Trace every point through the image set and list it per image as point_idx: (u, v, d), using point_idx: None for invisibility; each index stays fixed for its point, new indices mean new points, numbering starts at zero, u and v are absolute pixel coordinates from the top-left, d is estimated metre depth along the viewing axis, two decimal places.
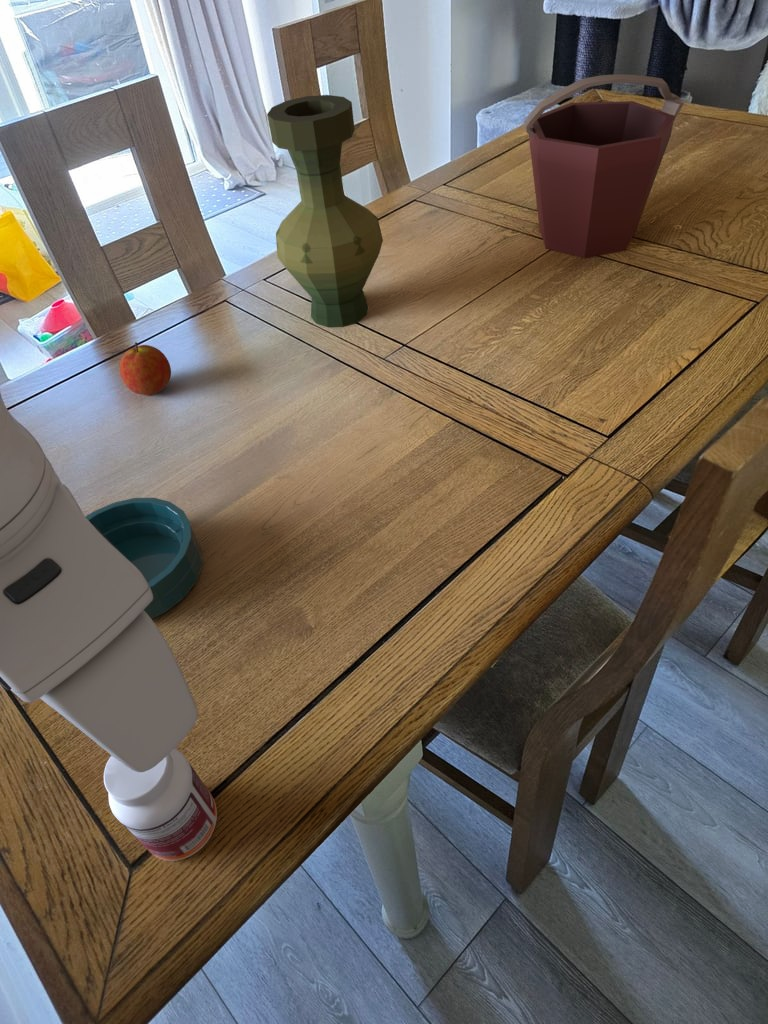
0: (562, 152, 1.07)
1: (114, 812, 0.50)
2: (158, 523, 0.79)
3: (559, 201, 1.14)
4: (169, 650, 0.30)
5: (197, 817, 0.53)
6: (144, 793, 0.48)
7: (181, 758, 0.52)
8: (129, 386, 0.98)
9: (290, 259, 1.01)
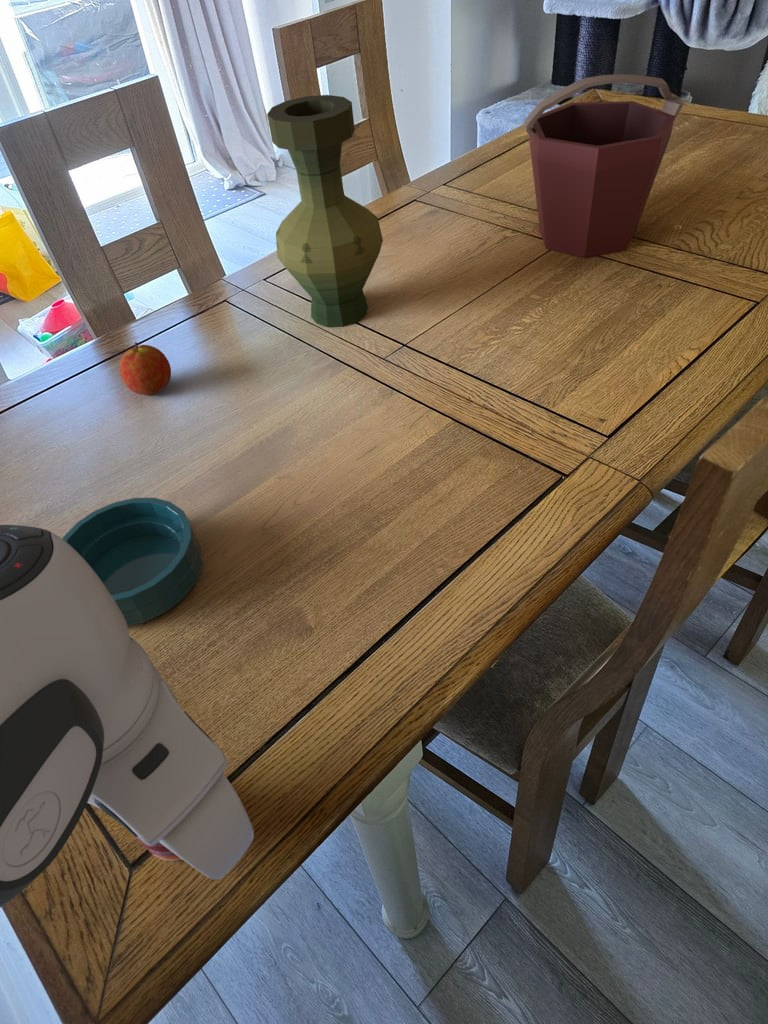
0: (562, 152, 1.07)
1: None
2: (158, 523, 0.79)
3: (559, 201, 1.14)
4: (237, 797, 0.44)
5: None
6: None
7: None
8: (129, 386, 0.98)
9: (290, 259, 1.01)
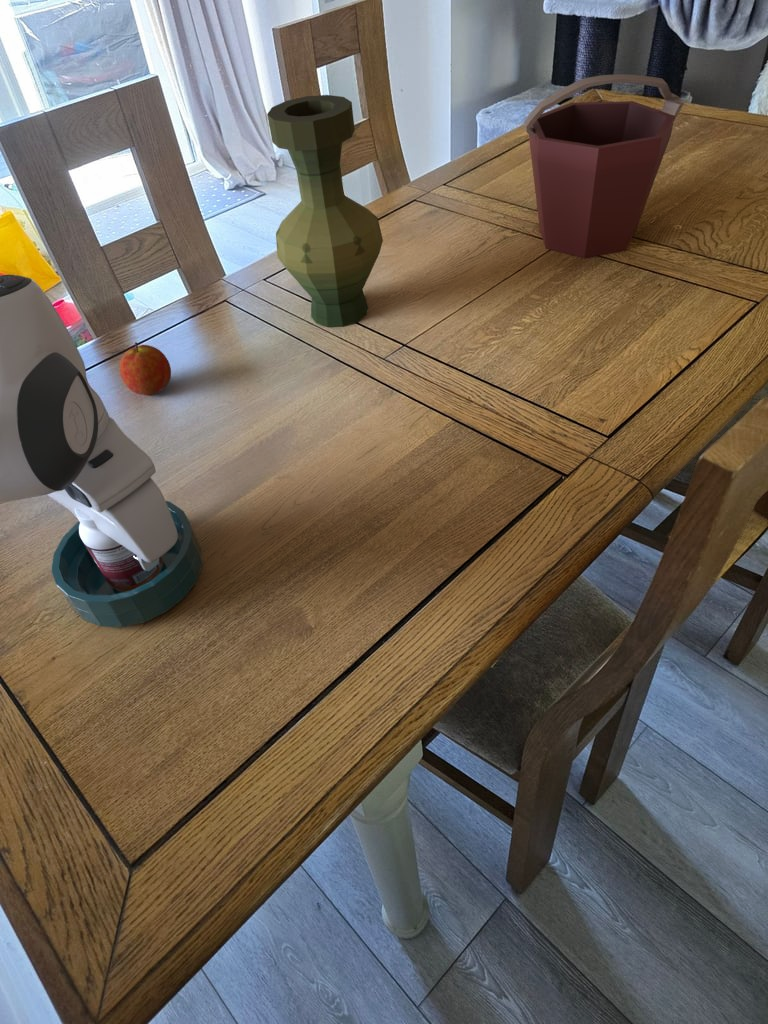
0: (562, 152, 1.07)
1: (82, 537, 0.69)
2: None
3: (559, 201, 1.14)
4: (163, 497, 0.63)
5: None
6: None
7: None
8: (129, 386, 0.98)
9: (290, 259, 1.01)
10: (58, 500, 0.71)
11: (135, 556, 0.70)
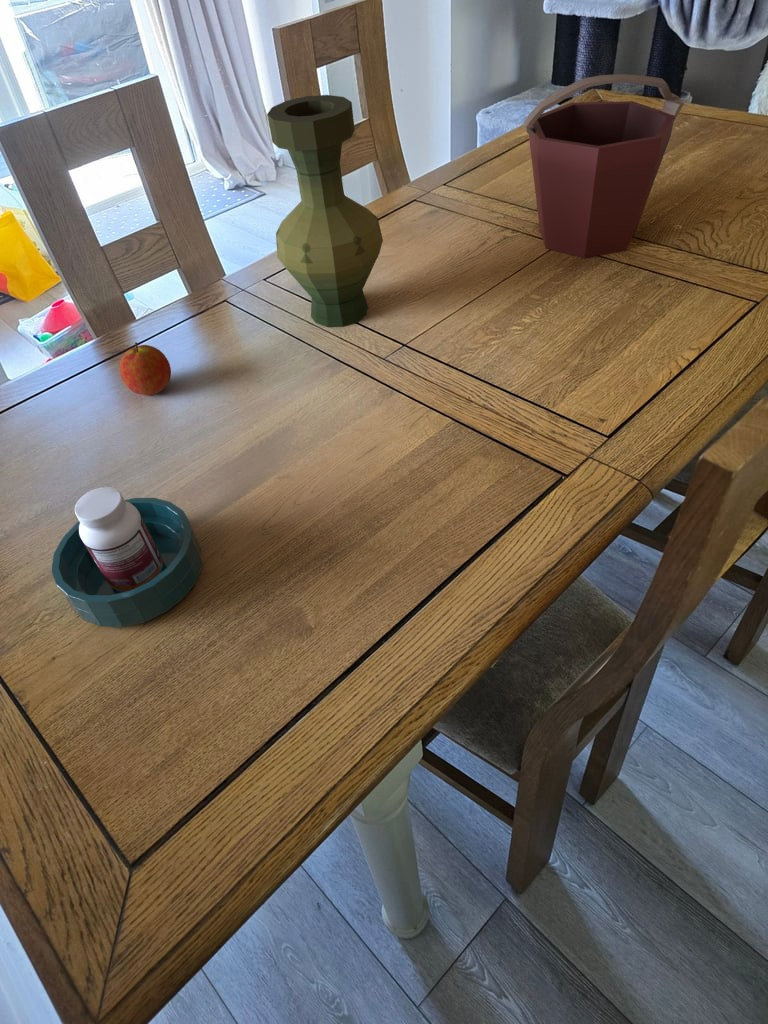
0: (562, 152, 1.07)
1: (82, 537, 0.69)
2: (158, 523, 0.79)
3: (559, 201, 1.14)
4: None
5: (145, 553, 0.72)
6: (103, 516, 0.67)
7: (132, 506, 0.71)
8: (129, 386, 0.98)
9: (290, 259, 1.01)
10: None
11: None
